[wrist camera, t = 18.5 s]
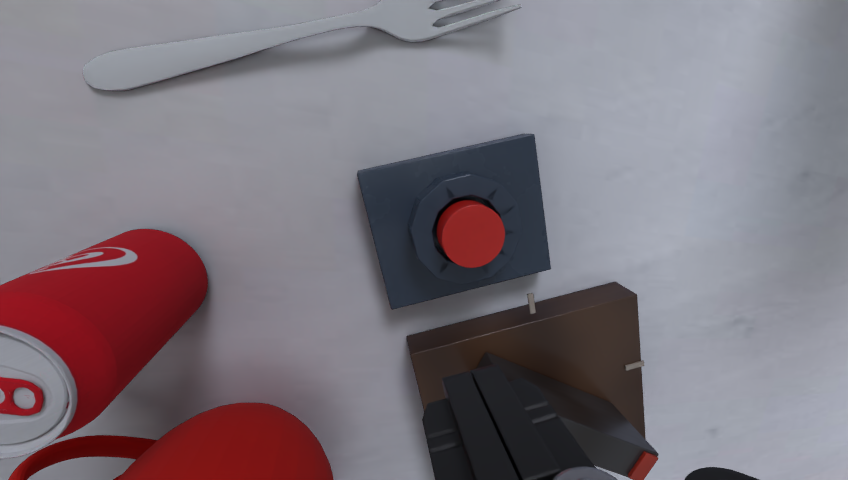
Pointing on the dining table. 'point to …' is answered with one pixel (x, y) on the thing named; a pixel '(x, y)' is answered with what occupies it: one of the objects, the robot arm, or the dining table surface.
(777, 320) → the dining table surface
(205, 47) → the fork
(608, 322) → the control panel
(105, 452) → the ceramic cup
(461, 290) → the button box
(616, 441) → the bar knob
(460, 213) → the red button
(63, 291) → the beverage can
